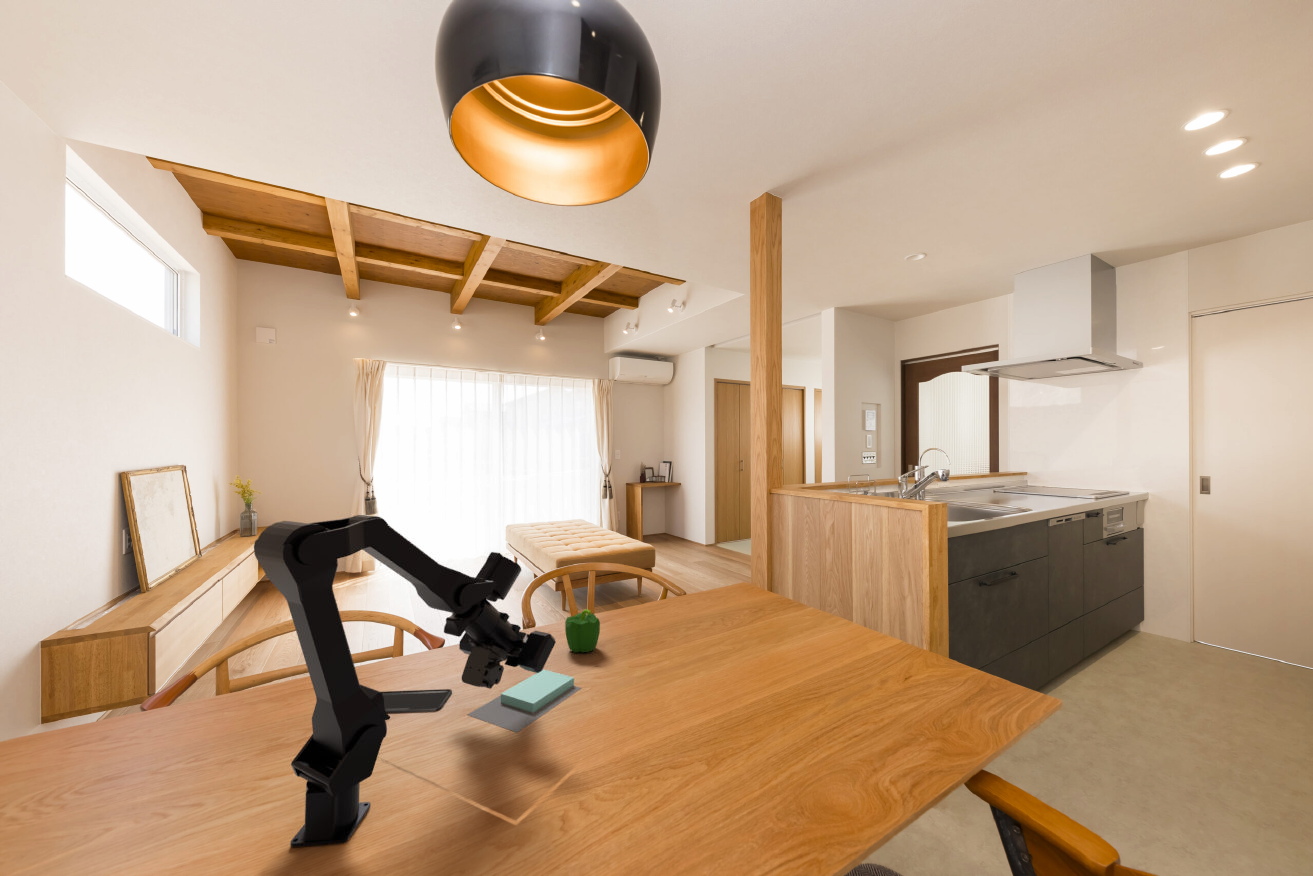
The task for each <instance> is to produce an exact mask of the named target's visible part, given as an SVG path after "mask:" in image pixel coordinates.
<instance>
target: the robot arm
mask: <svg viewBox="0 0 1313 876" xmlns="http://www.w3.org/2000/svg"><path fill="white" fill-rule="evenodd" d="M362 550H363V551H364V552H366V553H367V554H368V555H370V556H371V557H373V558H374V559H376V560H377V561H378V562H380V563H382V564H383V565H384V566H385V567H387V568H389V569H390V570H392V571H394V572H395V574H397V575H399V576H401V577H402V578H404V579H405V580H406V581H407V582H409V583H411V585H412V586H413V587H414V588H415V590H416V594H417V595H418V597H419V598H420V599H421V600H422V601H423V602H424V603H425V604H426V605H427V606H428V607H429V608H432V609H434V610H438V611H443V612H446V613H451V616H449V617H446V618H445V623H444V624H445V625H444V628H443V633H444V634H447V635H451V636H454V637H458V638H459V637H461V639H460V641H459V642H458V643H459V644H458V645H459V647H458V648H459V650H460V651H461V652H463V654H465V655H468V656H467V659H466V662H465V665H464V668H463V672H462V674H461V681H462V683H464V684H467V685H470V686H474V687H476V688H477V687H478V688H486V689H492V688H493V687H494V685H498V684H499V683H500V682H501V680H502V676H503V673H504V669H505V667H504V665H506V666H509V667H513V668H517V667H518V666H519V668H521V669H523V670H525V671H528V672H531V673H532V672H533V673H535V674H536V673H539V672H541V671H542V670H543V669H545V668H544V667H545V666H546V663H547V661H548V659H549V657H550V655H551V653H552V651H553V649H554V647H555V644H556V642H557V641H556V638H555V637H554V636H553V635H552V634H551V633H549V632H544V631H539V630H534V631H531V632H530V633H526V632H525V631H524V632H523V631H521V626H520V625H518V624H515V623H511V622H510V621H509V618H510V615H509V614H508V613H506V612H503V611H502V612H501V611H499V610H498V609H497V608H496V607H495V606H494V605H493V604H492V603H491V602H495V603H496V602H497V601H498V600H502V601H504V600H505V598H506V597H507V595H508V594H509V592H510V591H511V589H512V587H513V586H514V584H515V582H516V581H517V579H518V577H519V576H520V574H521V572H522V567H521V565H520V564H519V563H517V562H515V561H514V560H511V559H510V558H508V557H505V556H503V554H501V553H500V552H497V551H496V552H495V551H491V552H490V553H489V555H488V556H487V558H486V560H485V562H484V564H483V566H481V568H480V570H479V571H478V573H477V574H476V576H475V577H474V576H469V575H468V574H465V573H463V572H461V571H458V570H456V569H452V568H451V567H450V568H449V567H447V566H444V565H442V564H440V563H438V561H436V560H435V559H434V558H432V557H431V556H429V555H428V554H427V553H425V552H424V551H423V550H421V549H420V548H419V547H418V546H417V545H415V544H414V543H412V541H410V540H408V539H407V538H406V537H404V536H403V535H402V534H401V533H399V532H398V531H396V530H395V529H394V528H393V527H392V526H390V525H389V524H388V522H387V521H386V520H385V519H384V518H382V517H381V516H376V515H365V514H357V515H353V516H350V517H345V518H339V519H331V520H323V521H315V522H300V521H293V520H292V521H290V520H282V521H278V522H275V523H272V524H271V525H269V526H267V527H266V528H264V529H263V530H262V532H260V534H259V536H258V538H256V540H255V541H254V543H253V551H254V557H255V558H256V561H257V562H258V563H259V565H260V568H262V569H261V570H263V572H264V574H265V575H266V578H267V579H268V580H269V581H270V582H271V583H272V584H273V586H274V587H275V588H276V589H277V591H279V593H281V595H282V596H283V597H284V599H285V600H286V603H287V606H288V609H289V612H290V613H289V614H290V615H291V619H292V623H293V625H294V628H295V632H296V636H297V638H298V642H299V645H300V647H301V651H302V655H303V657H304V658H303V659H304V661H305V665H306V669H307V671H308V674H309V677H310V680H311V684H312V687H313V690H314V693H315V698H316V701H315V705H314V710H313V711H312V712H313V713H312V717H311V726H312V734H311V736H310V737H309V738H308V740H307V741H306V742H305V744H304V745H303V746H302V748H301V749H300V750H299V752H298V753H297V754H296V756H295V757H294V759H293V760H292V761H291V763H290V765H291V766H290V767H291V768H292V770H293V773H294V774H295V776H296V777H298V778H302V779H304V780H306V784H305V785H306V786H305V801H304V802H305V803H304V805H305V808H304V824H303V825H302V826H301V828H300V829H299V831H297V833H296V834H295V835H294V837H292V839H291V840H290V842H289V843H290V844H289V845H290V847H291V848H295V847H296V848H298V847H311V846H323V845H337V844H344V843H347V842H348V841H349V839H350V838H351V837H352V835H353V834H354V832H355V831H356V829H357V828H358V826H359V824H360V823H361V822H362V820H363V818H364V817H365V816H366V815H367V813H368V812H369V810H370V808H371V802H369V801H363V802H361V801H360V785H361V783H362V782H363V781H364V780H367V779H368V778H370V777H371V776H372V775H373V771H374V768H375V765H376V762H377V759H378V756H379V751H380V749H381V746H382V743H383V741H384V739H385V738H386V737H387V733H388V726H387V721H388V720H390V719H391V716H390V715H389V713H386V711H385V707H384V697H383V695H382V692H383V691H379V690H377V689H374V688H371V687H369V686H366V685H363V684H360V681H359V678H358V674H357V671H356V667H355V664H354V659H353V656H352V652H351V649H350V646H349V642H348V639H347V634H346V631H345V629H344V624H343V621H342V617H341V613H340V611H339V607H338V603H337V599H336V597H335V593H334V588H333V587H334V582H335V578H336V573H337V569H338V567H339V564H338V563H339V562H338V559H342V558H346V557H349V556H352V555H354V554H355V553H359V552H360V551H362ZM463 633H464V634H463ZM462 635H463V636H462ZM504 661H505V662H504ZM502 662H504V665H502V664H501V663H502Z"/></svg>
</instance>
